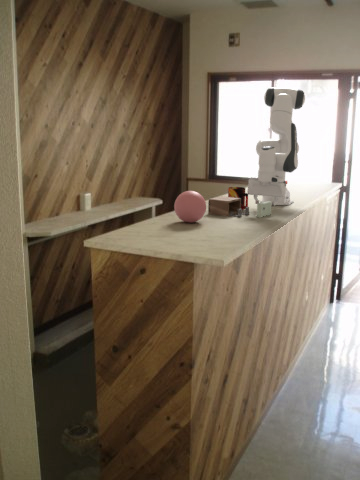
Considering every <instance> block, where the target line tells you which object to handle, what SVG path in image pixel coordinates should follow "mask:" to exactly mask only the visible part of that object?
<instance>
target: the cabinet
mask: <svg viewBox="0 0 360 480" xmlns="http://www.w3.org/2000/svg"><path fill="white" fill-rule="evenodd" d="M207 207H208V208H207V209H208V210H207V212H208V215H215V216H223V217H234V218H235V217H237V218H241V217H242V216H249V215H250V207H249V206H248V207H245V209H244V210H245V211H244V212H243V210H242V209H241V198H234V197H228V196H217V197H213V198H212V197H211V198H208V206H207Z"/></svg>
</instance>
